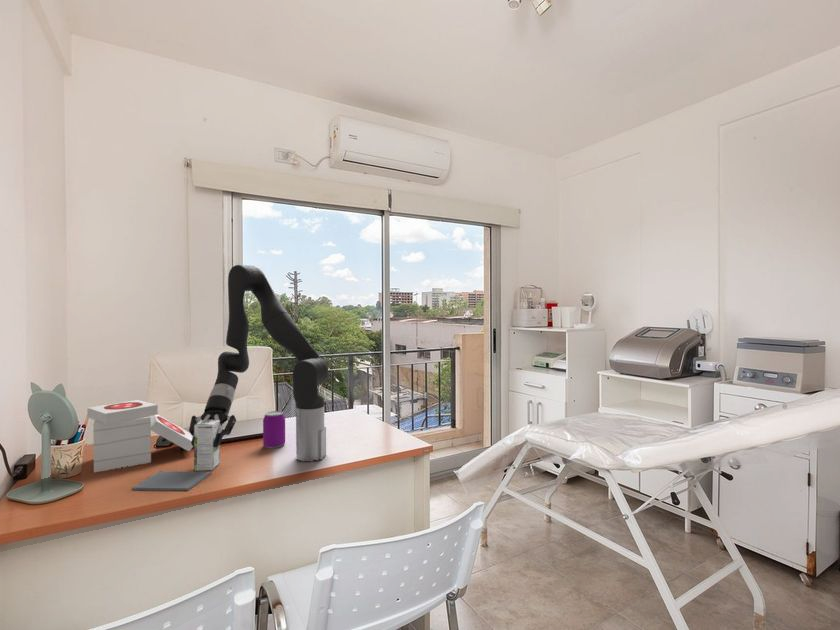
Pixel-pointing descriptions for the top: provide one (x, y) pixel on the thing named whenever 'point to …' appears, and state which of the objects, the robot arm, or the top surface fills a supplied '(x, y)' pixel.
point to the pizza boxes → (130, 433)
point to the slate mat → (172, 480)
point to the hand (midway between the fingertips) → (204, 446)
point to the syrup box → (206, 445)
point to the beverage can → (274, 429)
